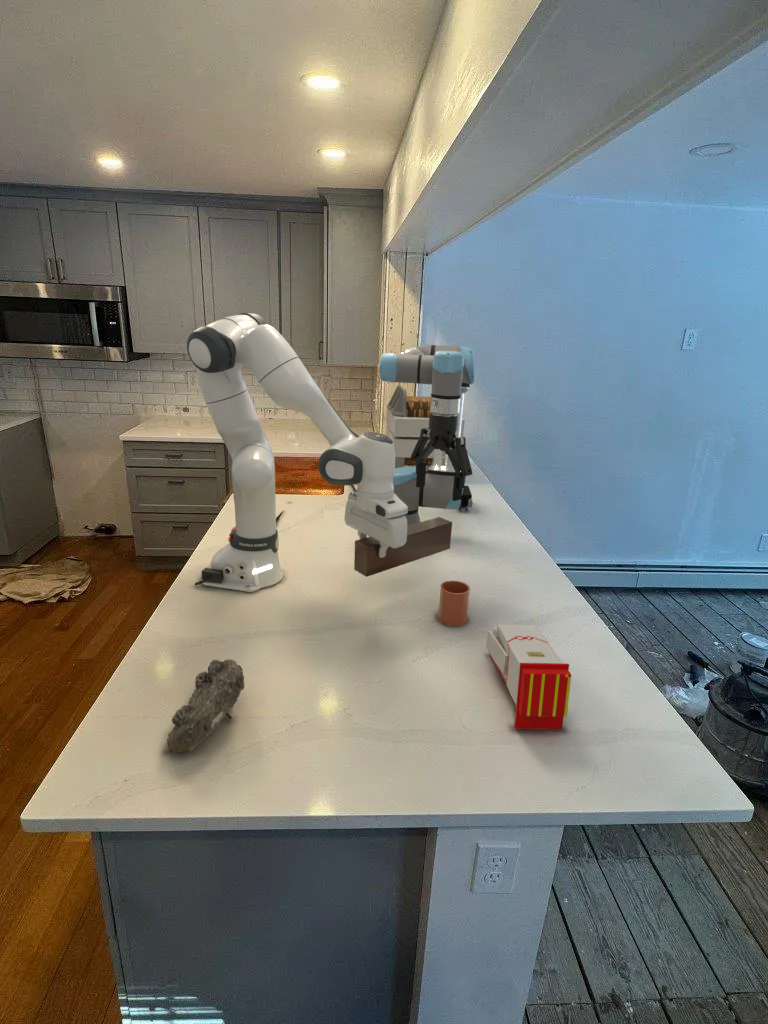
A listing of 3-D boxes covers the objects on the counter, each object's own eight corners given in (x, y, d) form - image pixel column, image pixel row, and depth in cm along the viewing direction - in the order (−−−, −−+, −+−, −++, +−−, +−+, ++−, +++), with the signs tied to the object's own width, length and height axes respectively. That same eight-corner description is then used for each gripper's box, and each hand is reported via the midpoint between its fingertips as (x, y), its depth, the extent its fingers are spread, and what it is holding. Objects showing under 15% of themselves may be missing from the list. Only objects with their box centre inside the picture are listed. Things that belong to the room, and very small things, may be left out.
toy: (533, 609, 133) (580, 670, 104) (528, 661, 136) (573, 736, 107) (482, 608, 133) (514, 669, 103) (478, 661, 135) (509, 735, 106)
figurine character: (472, 516, 224) (466, 500, 237) (474, 499, 220) (469, 483, 234) (455, 515, 224) (451, 499, 237) (457, 498, 220) (452, 483, 234)
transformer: (382, 463, 289) (386, 382, 275) (445, 464, 293) (451, 384, 279) (390, 482, 257) (394, 392, 243) (460, 483, 261) (468, 394, 247)
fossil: (192, 660, 117) (244, 628, 112) (224, 691, 120) (276, 661, 115) (142, 746, 98) (202, 712, 93) (182, 779, 101) (242, 748, 96)
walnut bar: (354, 569, 143) (354, 540, 140) (437, 542, 162) (439, 516, 159) (366, 577, 140) (367, 547, 137) (450, 548, 158) (452, 522, 156)
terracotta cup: (432, 616, 147) (434, 585, 144) (451, 608, 152) (454, 578, 149) (453, 629, 142) (456, 597, 139) (472, 619, 146) (476, 588, 143)
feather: (290, 505, 227) (293, 501, 226) (273, 528, 200) (276, 524, 200) (286, 502, 226) (289, 498, 226) (269, 525, 200) (272, 521, 199)
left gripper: (339, 491, 143) (338, 541, 147) (392, 514, 128) (389, 569, 133) (358, 487, 147) (357, 536, 151) (413, 509, 132) (409, 563, 137)
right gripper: (400, 407, 151) (396, 483, 159) (471, 424, 134) (463, 508, 141) (420, 405, 156) (416, 479, 163) (491, 421, 138) (483, 503, 146)
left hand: (373, 552), depth 142 cm, fingers closed on walnut bar, 5 cm apart
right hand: (438, 493), depth 152 cm, fingers open, 13 cm apart
